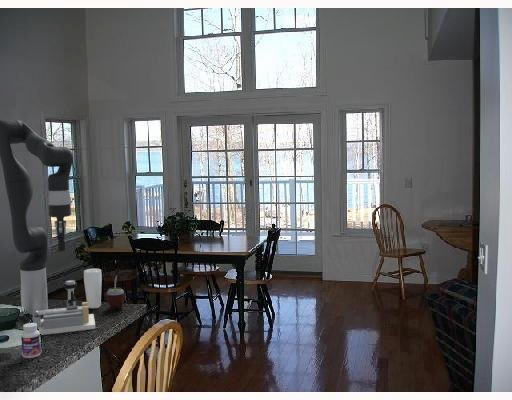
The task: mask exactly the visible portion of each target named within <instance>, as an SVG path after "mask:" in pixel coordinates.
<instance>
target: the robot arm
mask: <svg viewBox="0 0 512 400" xmlns="http://www.w3.org/2000/svg"><path fill="white" fill-rule="evenodd" d="M15 144H16V145H17V144H24V145H25V148H26V150H27V151H28V152H29V153H30V154H32V155H34V156H35V157H36V158H38V159H39V160H40V162H41V163H42V164H43V165H44V166H46V167H49V168H56V167H57V171H56V172H54V173H51V174H49V175H48V177H47V187H48V188H47V189H48V191H47V192H48V193H47V204H48V205H47V206H48V216H49V218H56V220H55V221H54V228H55V235H56V240H57V248H58V252H65V251H66V246H65V245H66V244H65V243H66V242H65V241H66V234H67V228H66V227H67V221H66V220H64V218H65V217H71V215H72V205H71V204H72V203H71V202H72V201H71V193H70V175H71V170H72V166H73V161H74V154H73V152H72V150H71V148H69V147H68V146H55V145H54V144H53V143H52V142H51V141H49V140H48V139H46V138H44V137H42V136H40V135H39V134H37V133H36V132H35V131H34V130H33V129H32V128H31V127H29V125H27V123H25V122H24V121H22V120H20V119H0V163H1V166H2V171H3V177H4V184H5V191H6V195H7V199H8V205H9V210H10V216H11V229H12V239H13V240H12V241H13V244H14V248H15V249H16V250H17V251H18V253H20V254H26V253H29V254H28V255H27V256H26V258H24V259H22V261H20V264H19V269H20V270H19V271H20V285H21V286H20V303H21V308H22V307H23V308H24V309H25V311H27V312H28V313H29V314H30V315H29V316H33V314H34V311H35V310H36V309H37V310H48V309H49V306H48V305H49V304H48V302H49V301H48V283H47V266H46V265H47V261H48V236H47V235H48V234H47V233H46V230H45V229H44V228H43V227H41V226H30V227H28V222H27V221H28V220H27V215H28V210H29V208H30V205H31V202H32V198H33V195H34V189H33V184H32V178H31V176H30V174H29V172H28V170H27V169H26V168H25V167H24V165H22V164H21V162H20V161H18V159H17V158H16V156H15V154H14V152H13V150H12V147H11V145H15Z"/></svg>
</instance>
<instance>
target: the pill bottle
mask: <svg viewBox="0 0 512 400" xmlns="http://www.w3.org/2000/svg"><path fill="white" fill-rule="evenodd" d="M22 330H23V331H22V332H21V337H20V339H21V340H20V342H21V355H22V358H24V359H33V358H37V357H39V356H40V355H41V353H42V352H41V351H42V350H41V349H42V346H41V335H40V332H39V331H38V330H37V324H36V323H30V322H27V323H25V324H23V325H22Z"/></svg>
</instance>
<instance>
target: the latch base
mask: <svg viewBox="0 0 512 400" xmlns="http://www.w3.org/2000/svg"><path fill="white" fill-rule="evenodd" d="M81 306H83V307H82V310H83V311H76V312H66V313H56V314H46V315H43V318H42V319H41V315H38V316H37V317H35V316H34V314H33V315H32V320H33V323H36V324H37V327H38V329H39V331H40V334H41V335H40V336H44V335H52V334H54V335H55V334H63V333H71V332H77V331H78V332H79V331H80V332H81V331H87V330H95V329H96V321H95V315H94V313H89V312H90V311H89V308H88V302H87V301H85V302H81ZM77 307H79V305H77Z"/></svg>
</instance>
